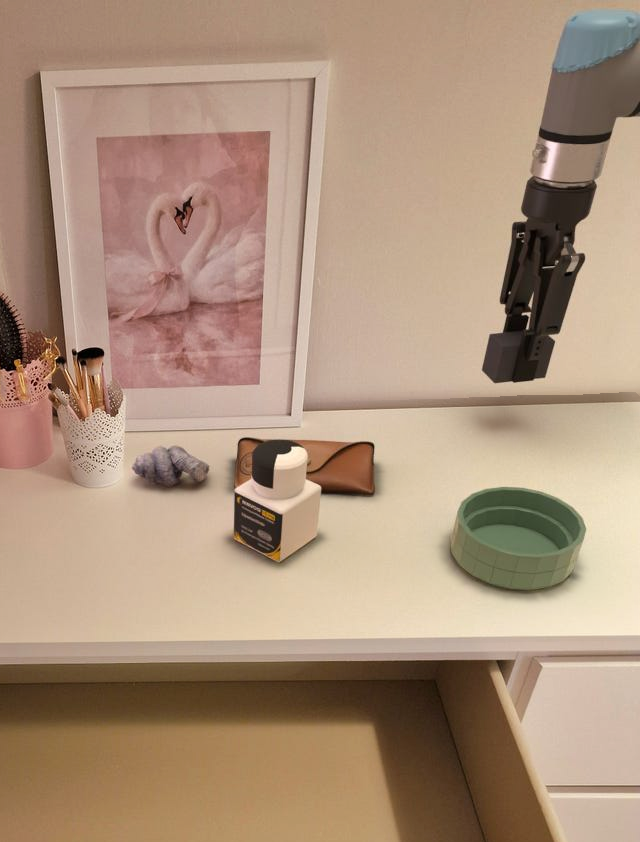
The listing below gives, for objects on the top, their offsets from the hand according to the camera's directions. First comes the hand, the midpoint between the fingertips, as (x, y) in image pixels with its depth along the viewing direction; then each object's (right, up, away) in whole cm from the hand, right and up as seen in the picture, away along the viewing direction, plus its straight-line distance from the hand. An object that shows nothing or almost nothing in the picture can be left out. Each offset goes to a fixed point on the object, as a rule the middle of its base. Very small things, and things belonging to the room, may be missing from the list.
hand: (514, 372), depth 114 cm
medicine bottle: (-33, -23, -12) cm, 42 cm away
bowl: (-7, -26, -16) cm, 31 cm away
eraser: (0, 0, 0) cm, 0 cm away
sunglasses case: (-28, -14, -2) cm, 32 cm away
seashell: (-45, -15, -2) cm, 48 cm away
